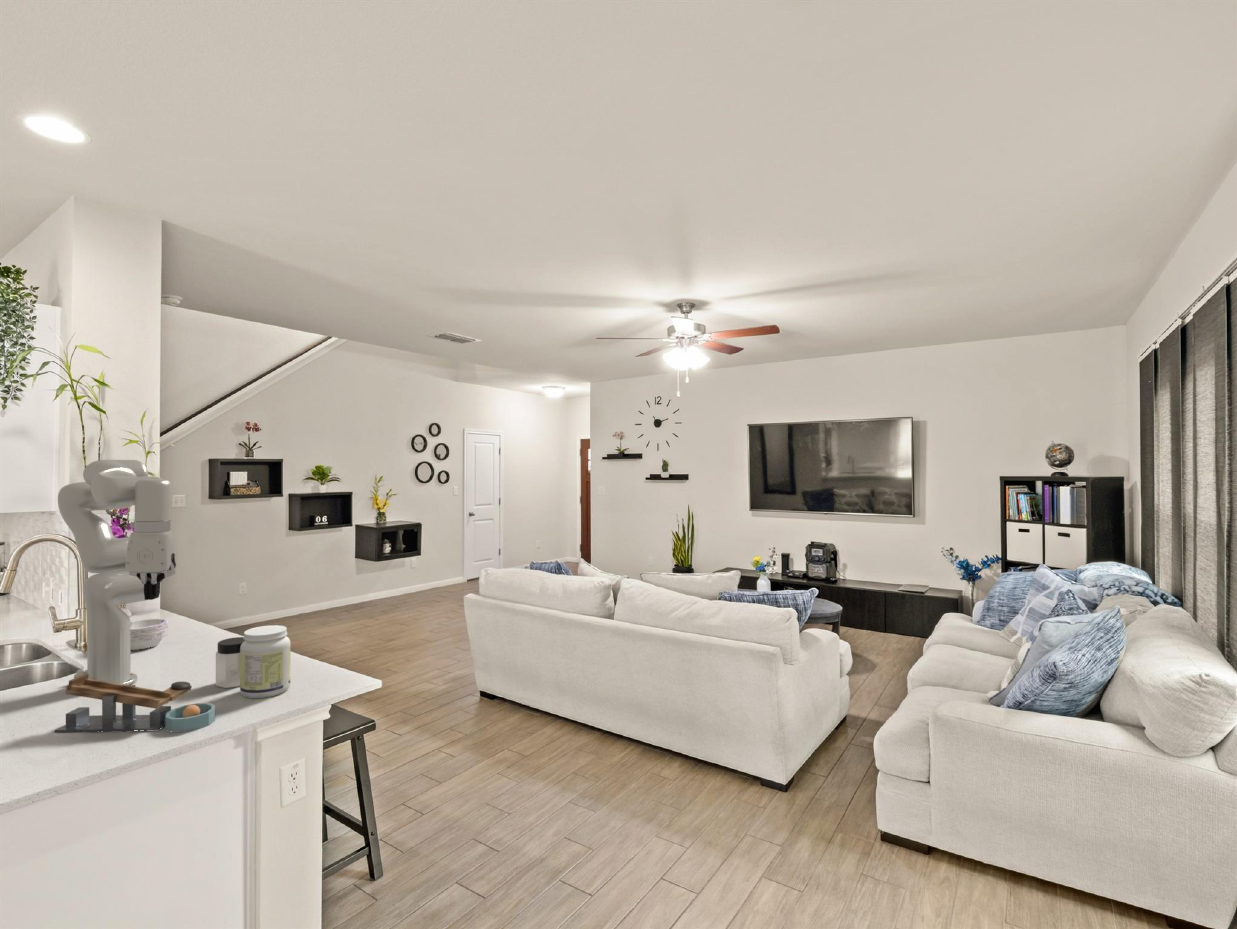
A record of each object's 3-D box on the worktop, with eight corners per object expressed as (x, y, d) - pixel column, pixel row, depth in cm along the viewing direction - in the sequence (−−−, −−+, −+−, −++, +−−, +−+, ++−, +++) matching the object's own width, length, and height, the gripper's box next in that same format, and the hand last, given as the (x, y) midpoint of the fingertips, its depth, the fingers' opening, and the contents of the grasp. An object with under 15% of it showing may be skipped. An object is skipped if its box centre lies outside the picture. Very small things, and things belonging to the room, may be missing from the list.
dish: (156, 732, 150) (156, 719, 150) (182, 715, 159) (182, 703, 159) (199, 731, 150) (199, 718, 150) (223, 714, 160) (223, 702, 160)
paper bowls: (119, 643, 220) (119, 620, 220) (172, 638, 227) (172, 616, 227) (105, 656, 206) (105, 631, 206) (162, 650, 213) (162, 626, 213)
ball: (188, 705, 153) (197, 717, 153) (197, 699, 156) (206, 711, 157) (176, 714, 153) (185, 726, 153) (185, 708, 156) (194, 719, 156)
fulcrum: (54, 732, 149) (54, 698, 149) (82, 718, 157) (82, 685, 157) (157, 731, 150) (157, 696, 150) (180, 716, 159) (180, 683, 159)
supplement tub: (257, 683, 182) (257, 623, 182) (299, 684, 182) (299, 624, 182) (229, 699, 170) (229, 635, 170) (274, 700, 170) (275, 636, 170)
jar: (216, 690, 176) (216, 647, 176) (215, 681, 183) (215, 639, 183) (253, 684, 181) (253, 642, 181) (251, 676, 188) (251, 635, 188)
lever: (65, 693, 151) (67, 680, 151) (106, 674, 164) (108, 662, 164) (158, 709, 152) (161, 695, 152) (192, 689, 165) (194, 677, 165)
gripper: (111, 528, 160) (110, 601, 160) (174, 529, 161) (173, 602, 161) (132, 524, 167) (131, 594, 168) (192, 526, 168) (191, 595, 169)
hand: (151, 598), depth 165 cm, fingers closed
